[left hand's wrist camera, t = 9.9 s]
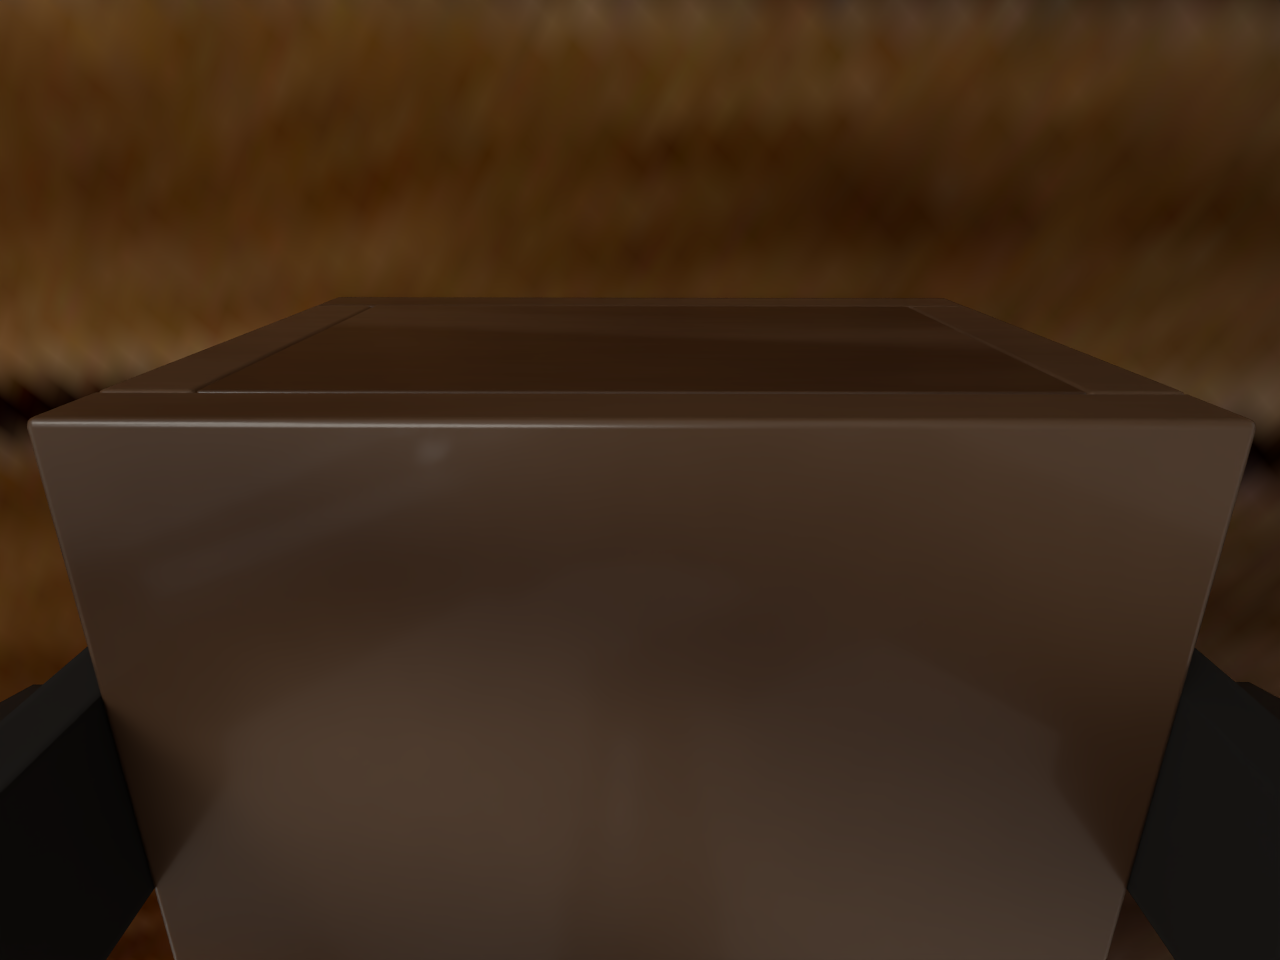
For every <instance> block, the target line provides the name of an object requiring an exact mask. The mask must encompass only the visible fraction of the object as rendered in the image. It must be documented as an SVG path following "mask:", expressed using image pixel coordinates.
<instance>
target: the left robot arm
mask: <svg viewBox="0 0 1280 960" xmlns="http://www.w3.org/2000/svg"><path fill="white" fill-rule="evenodd" d="M153 889H154V884H153V880H152V877H151V873H150V869H149V866H148V862H147V859H146V855H145V851H144V848H143V844H142V841H141V837H140V833H139V830H138V826H137V822H136V819H135V815H134V812H133V808H132V804H131V801H130V797H129V794H128V790H127V786H126V783H125V779H124V776H123V772H122V768H121V765H120V761H119V757H118V754H117V750H116V747H115V743H114V739H113V736H112V732H111V729H110V725H109V721H108V718H107V714H106V710H105V707H104V703H103V700H102V696H101V692H100V689H99V685H98V682H97V678H96V674H95V671H94V667H93V663H92V660H91V656H90V653H89V649H88V647H86V648H85V649H84V650H83V651H82V652H81V653H79V654H78V655H77V656H76V657H75V658H74V659H72V660H71V661H70V662H69V663H68V664H67V665H65V666H64V667H63V668H62V669H61V670H60V671H59V672H57V673H56V674H55V675H54V676H53V677H52V678H50V679H49V680H48V681H47V682H46V683H45V684H43V685H32V686H30V687H28V688H26V689H24V690H23V691H21V692H19V693H17V694H15V695H13V696H11V697H10V698H8V699H6V700H4V701H2V702H0V960H106V959H107V957H108V956H109V954H110V953H111V951H112V950H113V948H114V947H115V945H116V944H117V943H118V941H119V940H120V938H121V937H122V935H123V934H124V932H125V931H126V929H127V928H128V926H129V925H130V923H131V922H132V920H133V919H134V917H135V916H136V915H137V913H138V912H139V910H140V909H141V907H142V906H143V904H144V903H145V901H146V900H147V898H148V897H149V895H150V894H151V892H152V891H153ZM1127 890H1128V891H1129V893H1130V894H1131V895H1132V897H1133V898H1134V900H1135V901H1136V903H1137V904H1138V906H1139V907H1140V909H1141V910H1142V912H1143V913H1144V915H1145V916H1146V918H1147V919H1148V921H1149V922H1150V923H1151V925H1152V926H1153V928H1154V929H1155V931H1156V932H1157V934H1158V935H1159V937H1160V938H1161V940H1162V941H1163V943H1164V944H1165V946H1166V947H1167V949H1168V950H1169V951H1170V953H1171V954H1172V956H1173V957H1174V959H1175V960H1280V699H1279V698H1278V697H1276V696H1274V695H1272V694H1270V693H1268V692H1266V691H1264V690H1263V689H1261V688H1259V687H1257V686H1255V685H1253V684H1251V683H1249V682H1234V681H1233V680H1232V679H1231V678H1230V677H1228V676H1227V675H1226V674H1225V673H1224V672H1223V671H1221V670H1220V669H1219V668H1218V667H1217V666H1216V665H1214V664H1213V663H1212V662H1211V661H1210V660H1209V659H1207V658H1206V657H1205V656H1204V655H1203V654H1202V653H1200V652H1199V651H1198V650H1197V649H1196V648H1194V651H1193V655H1192V658H1191V662H1190V665H1189V669H1188V672H1187V676H1186V680H1185V683H1184V687H1183V690H1182V694H1181V697H1180V701H1179V704H1178V708H1177V711H1176V715H1175V719H1174V722H1173V726H1172V729H1171V733H1170V736H1169V740H1168V743H1167V747H1166V751H1165V754H1164V758H1163V761H1162V765H1161V768H1160V772H1159V775H1158V779H1157V783H1156V786H1155V790H1154V793H1153V797H1152V800H1151V804H1150V807H1149V811H1148V815H1147V818H1146V822H1145V825H1144V829H1143V832H1142V836H1141V839H1140V843H1139V847H1138V850H1137V854H1136V857H1135V861H1134V864H1133V868H1132V871H1131V875H1130V878H1129V882H1128V886H1127Z"/></svg>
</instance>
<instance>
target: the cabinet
mask: <svg viewBox="0 0 1280 960" xmlns="http://www.w3.org/2000/svg"><path fill="white" fill-rule="evenodd" d="M27 429H28V432H29V436H30V439H31V443H32V447H33V450H34V454H35V458H36V461H37V465H38V468H39V472H40V476H41V479H42V483H43V486H44V490H45V494H46V497H47V501H48V505H49V508H50V512H51V515H52V519H53V523H54V526H55V530H56V533H57V537H58V541H59V544H60V548H61V551H62V555H63V559H64V562H65V566H66V570H67V573H68V577H69V580H70V584H71V588H72V591H73V595H74V598H75V602H76V606H77V609H78V613H79V617H80V620H81V624H82V627H83V631H84V635H85V638H86V642H87V645H88V649H89V653H90V656H91V660H92V663H93V667H94V671H95V674H96V678H97V682H98V685H99V689H100V692H101V696H102V700H103V703H104V707H105V710H106V714H107V718H108V721H109V725H110V729H111V732H112V736H113V739H114V743H115V747H116V750H117V754H118V757H119V761H120V765H121V768H122V772H123V776H124V779H125V783H126V786H127V790H128V794H129V797H130V801H131V804H132V808H133V812H134V815H135V819H136V822H137V826H138V830H139V833H140V837H141V841H142V844H143V848H144V851H145V855H146V859H147V862H148V866H149V869H150V873H151V877H152V880H153V884H154V888H155V891H156V895H157V898H158V902H159V906H160V909H161V913H162V916H163V920H164V924H165V927H166V931H167V934H168V938H169V942H170V945H171V949H172V953H173V956H174V960H1107V957H1108V953H1109V950H1110V946H1111V942H1112V939H1113V935H1114V932H1115V928H1116V925H1117V921H1118V918H1119V914H1120V910H1121V907H1122V903H1123V900H1124V896H1125V893H1126V889H1127V886H1128V882H1129V878H1130V875H1131V871H1132V868H1133V864H1134V861H1135V857H1136V854H1137V850H1138V847H1139V843H1140V839H1141V836H1142V832H1143V829H1144V825H1145V822H1146V818H1147V815H1148V811H1149V807H1150V804H1151V800H1152V797H1153V793H1154V790H1155V786H1156V783H1157V779H1158V775H1159V772H1160V768H1161V765H1162V761H1163V758H1164V754H1165V751H1166V747H1167V743H1168V740H1169V736H1170V733H1171V729H1172V726H1173V722H1174V719H1175V715H1176V711H1177V708H1178V704H1179V701H1180V697H1181V694H1182V690H1183V687H1184V683H1185V680H1186V676H1187V672H1188V669H1189V665H1190V662H1191V658H1192V655H1193V651H1194V648H1195V644H1196V640H1197V637H1198V633H1199V630H1200V626H1201V623H1202V619H1203V616H1204V612H1205V608H1206V605H1207V601H1208V598H1209V594H1210V591H1211V587H1212V584H1213V580H1214V576H1215V573H1216V569H1217V566H1218V562H1219V559H1220V555H1221V552H1222V548H1223V544H1224V541H1225V537H1226V534H1227V530H1228V527H1229V523H1230V520H1231V516H1232V513H1233V509H1234V505H1235V502H1236V498H1237V495H1238V491H1239V488H1240V484H1241V481H1242V477H1243V473H1244V470H1245V466H1246V463H1247V459H1248V456H1249V452H1250V449H1251V445H1252V441H1253V438H1254V434H1255V431H1256V428H1255V423H1254V422H1253V421H1252V420H1250V419H1248V418H1245V417H1243V416H1240V415H1238V414H1235V413H1233V412H1230V411H1228V410H1225V409H1223V408H1220V407H1218V406H1215V405H1212V404H1210V403H1207V402H1205V401H1202V400H1200V399H1197V398H1195V397H1192V396H1190V395H1185V394H1184V393H1183V392H1181V391H1179V390H1176V389H1174V388H1171V387H1168V386H1166V385H1163V384H1161V383H1158V382H1156V381H1153V380H1151V379H1148V378H1146V377H1143V376H1140V375H1138V374H1135V373H1133V372H1130V371H1128V370H1125V369H1123V368H1120V367H1118V366H1115V365H1113V364H1110V363H1107V362H1105V361H1102V360H1100V359H1097V358H1095V357H1092V356H1090V355H1087V354H1085V353H1082V352H1079V351H1077V350H1074V349H1072V348H1069V347H1067V346H1064V345H1062V344H1059V343H1057V342H1054V341H1051V340H1049V339H1046V338H1044V337H1041V336H1039V335H1036V334H1034V333H1031V332H1029V331H1026V330H1024V329H1021V328H1018V327H1016V326H1013V325H1011V324H1008V323H1006V322H1003V321H1001V320H998V319H996V318H993V317H990V316H988V315H985V314H983V313H980V312H978V311H975V310H973V309H970V308H968V307H964V306H962V305H959V304H957V303H954V302H952V301H949V300H947V299H944V298H357V297H338V298H336V299H333V300H331V301H328V302H326V303H323V304H321V305H318V306H315V307H313V308H310V309H308V310H305V311H303V312H300V313H297V314H295V315H292V316H290V317H287V318H285V319H282V320H279V321H277V322H274V323H272V324H269V325H267V326H264V327H262V328H259V329H256V330H254V331H251V332H249V333H246V334H244V335H241V336H239V337H236V338H233V339H231V340H228V341H226V342H223V343H221V344H218V345H215V346H213V347H210V348H208V349H205V350H203V351H200V352H198V353H195V354H192V355H190V356H187V357H185V358H182V359H180V360H177V361H175V362H172V363H169V364H167V365H164V366H162V367H159V368H157V369H154V370H151V371H149V372H146V373H144V374H141V375H139V376H136V377H134V378H131V379H128V380H126V381H123V382H121V383H118V384H116V385H113V386H111V387H108V388H105V389H103V390H101V391H100V392H99V393H93V394H91V395H88V396H86V397H83V398H81V399H78V400H75V401H73V402H70V403H68V404H65V405H63V406H60V407H58V408H55V409H52V410H50V411H47V412H45V413H42V414H40V415H37V416H35V417H33V418H30V420H29V421H28V425H27Z"/></svg>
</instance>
